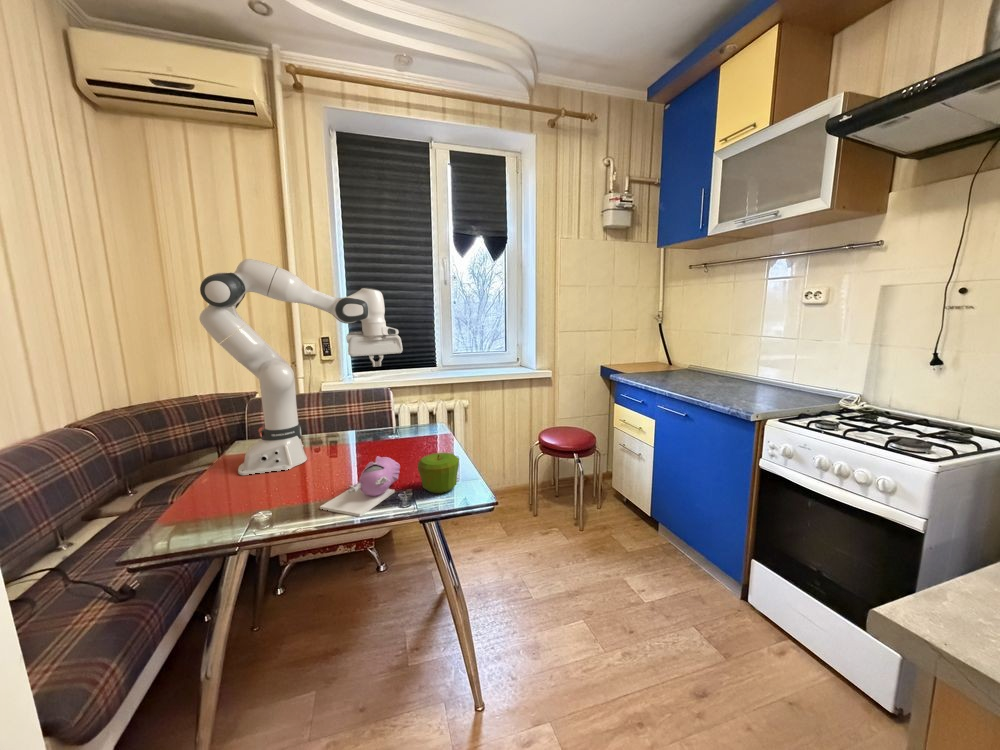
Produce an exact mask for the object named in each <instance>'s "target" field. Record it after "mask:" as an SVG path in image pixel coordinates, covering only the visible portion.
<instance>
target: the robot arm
mask: <svg viewBox="0 0 1000 750" xmlns="http://www.w3.org/2000/svg"><path fill="white" fill-rule="evenodd" d="M199 292H200V295H201V297H202V299H203V300H204V301H205V302H206V303H207V304H208V305H207V306H206V307H205V308H204V309H202V311H201V313H200V315H199V319H198V320H199V322H200V324H201V325H202V327H203V328H204V330H205V331H206V332H207V333H208V334H209V335H210V336H211V338H213V340H214V341H215V342H216V343H217V344H219V346H221V347H222V348H223V349H224V350H225V351H226V352H227V353H228V354H229V355H230V356H231V357H233V358H234V359H235V361H237V363H239V364H241V365H242V366H243V367H244V368H246V370H248V371H249V372H251V373H252V375H254V376H255V377H256V378H257V379H258V382H259V390H260V398H261V404H262V414H263V421H264V427H263V426H262V427H260V428H258V434H259V440H258V441H256V442H255V443H254V444H253V445H252V446H250V448H248V449H247V451H246V452H245V455H244V461H243V462H242V463H241V464H240V465H239V466H238V469H237V473H238V475H240V476H250V475H249V474H252V475H256V474H255V473H260V474H266V473H265V472H269V473H272V472H271V471H277V472H282V471H281V470H285V471H288V469H289V470H291V469H292V468H294V467H296V466H299V465H301V464H303V463H305V462H306V461H307V460H308V456H307V455H306V453H305V452H306V451H305V450H304V446H303V443H302V428H301V424H300V423H299V415H298V405H297V392H296V380H295V373H294V370H293V368H292V367H291V365H290V364H289V363H288V362H287V361H286V360H285V358H283V357H282V356H281V355H280V354H279V353H278V352H277V351H276V350H275V349H274V348H273V347H271V345H269V343H267V341H265V339H263V338H262V337H261V335H260V334H258V333H257V332H256V331H255V329H253V328H252V327H251V325H249V324H248V323H247V322H246V321H245V320H244V319H243V318H242V317H241V316H240V315H239V314H238V312H237V309H238V307H239V306H240V304H241V302H242V301H243V300H244V298H245V297H246V294H247V293H255V294H258V295H262V296H264V297H267V298H270V299H273V300H277V301H281V302H285V303H286V302H287V303H292V304H296V303H297V304H304V305H307V306H310V307H312V308H316V309H318V310H321V311H324V312H327V313H329V314H330V315H332V316H333V318H335V319H336V320H337V321H339V322H340V323H342V324H348V325H349V324H353V323H356V322H359V321H360V322H361V328H362V331H350V332H349V333H347V334H346V343H347V345H348V346H347V348H348V349H347V350H348V351H347V353H348V355H349V356H350V357H352V358H353V357H354V358H355V357H367V356H368V357H369V360H370V361H371V363H372V367H373V368H376V367H382V361H383V359H384V355H392V354H393V355H395V354H401V353H403V349H404V348H403V343H402V338H401V337H400V336H399V329H397V328H394V327H391V326H387V323H386V322H387V321H386V319H385V312H386V308H385V300H384V295H383V293H382V292H381V291H380V289H376V288H373V287H362V288H360V289H359V290H358V291H356V292H355V293H352V294H350V295H348V296H344V297H335V296H332V295H330V294H327V293H324V292H321V291H320V290H317V289H315V288H313V287H311V286H309V285H308V284H307V283H305V282H304V281H303V280H302V279H301V278H300V277H299V276H297V275H296V274H294V273H292V272H290V271H288V270H287V269H286V268H285V269H284V268H282V267H279V266H278V265H274V264H272V263H268V262H264V261H261V260H257V259H252V258H246V259H244V260H242V261H240V263H238V265H237V267H236V269H235V271H234V272H216V273H213V274H210V275H208V276H207V277H204V279H202V281H201V283H200V287H199ZM375 356H378V357H379V359H378V361H375V360H374V357H375Z"/></svg>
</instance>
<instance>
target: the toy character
mask: <svg viewBox="0 0 1000 750" xmlns="http://www.w3.org/2000/svg"><path fill="white" fill-rule="evenodd" d="M400 469H401V465H400V463H399V462H397V461H396V460H395V459H393V458H391V457H387V456H382V457H381V456H378V455H377V456H376V457H375V461H369V462H368V463H367V464H366V465H365V468H364V469H363V470H362V471H361V473H360V477H359V480H358V482H357V483H356V484H354V485H349V489H350V488H353V490H349V489H348V490H349V491H348V492H346V493H347V494H348V495H350V494H351V493H352V492H354V493H356V492H357V490H358V489H361V491H362V492H363V493H364V494H366V495H368V496H378V495H381V494H382V493H384V492H385V491H386V490H387V489H390V487H391V486H392V485H393V483H395V482H396V481H398V480H399V476H400V472H401V471H400Z"/></svg>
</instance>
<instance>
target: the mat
mask: <svg viewBox="0 0 1000 750" xmlns="http://www.w3.org/2000/svg"><path fill="white" fill-rule="evenodd" d="M349 490H353V488H350V487H349V489H347V490H346V491H344V492H342V493H340V494H339V495H337V496H335V497H334V498H332V499H330V500H328V501H326V502H325V503H323V504H322V505H320V506H319V509H320V510H322V509H323V511H327V510H328V512H333V513H338V514H344V515H348V516H355V517H362V516H363V515H365V514H366V513H368V512H370V510H372V509H374V508H375V507H376V506H377V505H379V504H380V503H382V502H383V501H384V500H386V499H387V498H389V497H390V496H391V495H393V494H395V493H396V490H395V489H392V488H388V489H387V490H386V491H385V492H384V493H382V494H381V495H378V496H368V495H366V494H364V493H363V492H362V491H361V489H358V490H357V492H356V493H354V492H352V493H351V494H350V495H348V494H347V493H346V492H348V491H349Z"/></svg>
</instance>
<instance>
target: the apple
mask: <svg viewBox="0 0 1000 750" xmlns="http://www.w3.org/2000/svg"><path fill="white" fill-rule="evenodd" d="M459 463H460V458H459V457H458V456H456V455H455V454H454V453H452V452H451V453H450V452H436V453H432V454H428V455H425V456H423V457H421V458H420V460H419V461H418V464H417V471H418V473H419V474H418V475H419V477H420V480H421V485H422V488H423V489H424V490H426V491H428V492H430V493H432V494H444V492H445V493H447V491H448V492H450V491H451V490H452V489H453V488H455V486H456V485H457V484H458V471H459V466H460V464H459Z"/></svg>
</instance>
